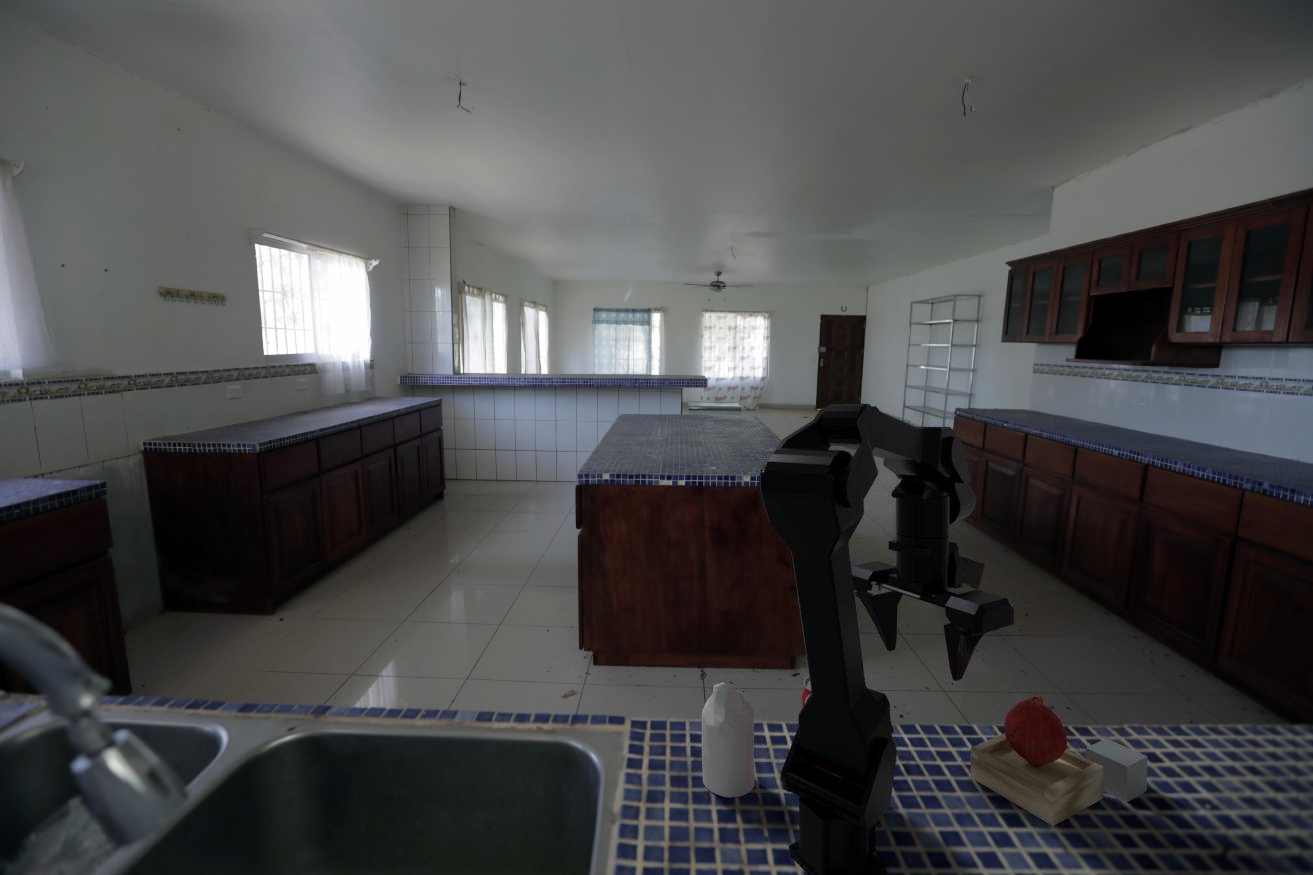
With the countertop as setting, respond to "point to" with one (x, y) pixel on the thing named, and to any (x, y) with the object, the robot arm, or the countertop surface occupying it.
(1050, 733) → the red pomegranate
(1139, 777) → the grey cube
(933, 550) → the robot arm
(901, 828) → the countertop surface
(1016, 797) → the square tray
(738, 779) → the white plastic bottle
